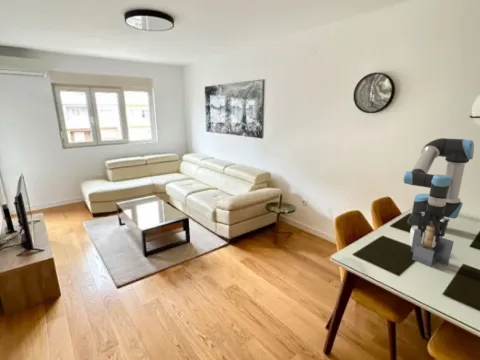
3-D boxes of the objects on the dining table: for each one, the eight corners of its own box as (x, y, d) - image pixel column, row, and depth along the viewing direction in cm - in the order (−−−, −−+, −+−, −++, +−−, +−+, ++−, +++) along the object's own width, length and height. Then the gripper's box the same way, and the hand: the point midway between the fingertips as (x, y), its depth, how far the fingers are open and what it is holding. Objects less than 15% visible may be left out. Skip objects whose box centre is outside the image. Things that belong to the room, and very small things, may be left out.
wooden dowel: (424, 247, 146) (428, 224, 142) (433, 250, 142) (438, 227, 139) (420, 249, 144) (425, 226, 140) (429, 252, 140) (434, 228, 137)
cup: (428, 251, 155) (432, 232, 152) (411, 249, 156) (414, 231, 153) (421, 243, 163) (424, 226, 160) (405, 242, 165) (408, 224, 162)
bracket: (411, 250, 155) (416, 229, 152) (448, 264, 141) (453, 241, 137) (403, 255, 149) (407, 233, 146) (440, 271, 135) (446, 246, 131)
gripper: (414, 201, 141) (407, 240, 147) (453, 210, 127) (444, 253, 133) (420, 198, 145) (413, 236, 151) (459, 207, 132) (449, 249, 137)
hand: (428, 244), depth 142 cm, fingers closed on wooden dowel, 4 cm apart
